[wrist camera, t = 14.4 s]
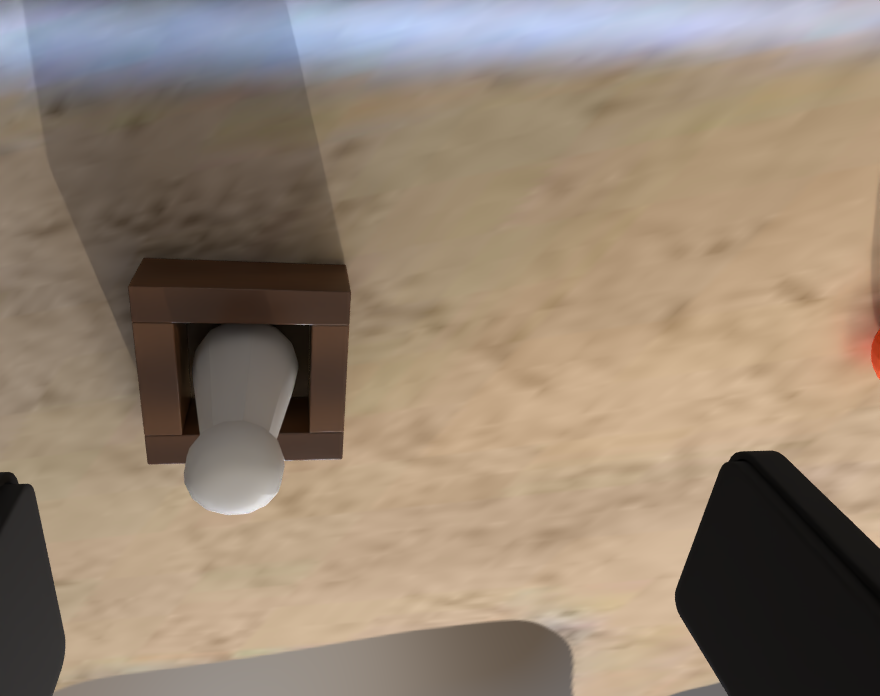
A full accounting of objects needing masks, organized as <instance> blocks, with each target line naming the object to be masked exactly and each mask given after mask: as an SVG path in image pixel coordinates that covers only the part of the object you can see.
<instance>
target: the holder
mask: <svg viewBox="0 0 880 696" xmlns="http://www.w3.org/2000/svg"><path fill="white" fill-rule="evenodd" d="M128 291H129V300H130V309H131V318H132V327H133V336H134V345H135V354H136V363H137V372H138V381H139V390H140V399H141V408H142V417H143V426H144V434H145V444H146V453H147V462H148V464H183V463H186V458H187V454H188V451H189V448H190V447H191V445H192V444H193V443H194V442H195V441H196V439H197V438H198V437H199V436H200V431H199V423H198V415H197V407H196V399H195V398H191V384H190V370H189V355H188V341H187V327H186V323H226V324H292V325H310V332H309V377H308V397H291V398H290V401H289V404H288V407H287V410H286V413H285V416H284V419H283V422H282V425H281V428H280V431H279V434H278V437H277V440H278V442H279V445H280V448H281V451H282V454H283V457H284V461H294V460H331V459H342V454H343V434H344V432H343V431H344V415H345V396H346V377H347V358H348V338H349V319H350V300H351V291H350V285H349V280H348V274H347V269H346V265H329V264H300V263H271V262H242V261H213V260H183V259H154V258H143V260H142V262H141V264H140V266H139V267H138V269H137V271H136V273H135V275H134V277H133V278H132V280H131V282H130V284H129V286H128Z"/></svg>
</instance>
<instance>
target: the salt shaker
mask: <svg viewBox="0 0 880 696" xmlns="http://www.w3.org/2000/svg"><path fill="white" fill-rule="evenodd" d="M298 368H299V364H298V361H297V358H296V354H295V351H294V348H293V345H292V342H291V341H290V340H289V339H288V338H287V337H286V336H284V335H283V334H282V333H281V332H280V331H279V330H278V329H277V328H276V327H273V326H271V325H268V324H226V323H225V324H222V325H220V326H218V327H216V328H214V329H211V330H210V331H209V333H208V334H207V335H206V337H205V338H204V339H203V341H202V342H201V343H200V344H199V346H198V347H197V349H196V350H195V356H194V361H193V367H192V375H193V383H194V391H195V399H196V407H197V415H198V423H199V431H200V436H199V437H198V438H197V439H196V441H195V442H194V443H193V444H192V445H191V447H190V448H189V451H188V454H187V458H186V464H185V470H184V482H185V485H186V487H187V489H188V491H189V493H190V495H191V497H192V499H193V500H195V501H196V502H197V503H199V504H200V505H201V506H203V507H204V508H205V509H206V510H209V511H213V512H217V513H221V514H225V515H235V514H248V513H250V512H253V511H255V510H257V509H259V508H261V507H263V506H265V505H267V504H268V503H269V502H270V500H271V499H272V498H273V497H274V496H275V495H276V494H277V493H278V492H279V488H280V485H281V481H282V476H283V471H284V457H283V454H282V451H281V448H280V445H279V442H278V440H277V437H278V434H279V431H280V428H281V425H282V422H283V419H284V416H285V413H286V410H287V407H288V404H289V401H290V398H291V395H292V392H293V389H294V386H295V382H296V377H297V373H298Z"/></svg>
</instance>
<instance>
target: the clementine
mask: <svg viewBox="0 0 880 696" xmlns="http://www.w3.org/2000/svg"><path fill="white" fill-rule="evenodd" d="M871 359H872V364H873V368H874V370H875V372H876V374H877V376H878V378H879V379H880V329H879V331H878V332H877V334H876V336H875V338H874V341H873V343H872V350H871Z"/></svg>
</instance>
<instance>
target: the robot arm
mask: <svg viewBox="0 0 880 696" xmlns="http://www.w3.org/2000/svg"><path fill="white" fill-rule="evenodd" d="M675 602H676V607H677V610H678V613H679V615H680V617H681V618H682V620H683V622H684V623H685V625H686V627H687V628H688V630H689V632H690V633H691V635H692V636H693V638H694V640H695V641H696V643H697V645H698V646H699V648H700V650H701V651H702V653H703V655H704V656H705V658H706V659H707V661H708V663H709V664H710V666H711V668H712V669H713V671H714V673H715V674H716V676H717V678H718V679H719V681H720V682H721V684H722V686H723V687H724V689H725V691H726V692H727V694H728V696H880V548H878V547H877V546H876V545H875V544H874V543H873V542H872V541H871V540H870V539H869V538H868V537H867V536H866V535H865V534H864V533H863V532H862V531H861V530H860V529H859V528H858V527H857V526H856V525H855V524H854V523H853V522H852V521H851V520H850V519H849V518H848V517H846V516H845V515H844V514H843V513H842V512H841V511H840V510H839V509H838V508H837V507H836V506H835V505H834V504H833V503H832V502H831V501H830V500H829V499H828V498H827V497H826V496H825V495H824V494H823V493H822V492H821V491H820V490H819V489H818V488H817V487H815V486H814V485H813V484H812V483H811V482H810V481H809V480H808V479H807V478H806V477H805V476H804V475H803V474H802V473H801V472H800V471H799V470H798V469H797V468H796V467H795V466H794V465H793V464H792V463H791V462H790V461H789V460H788V459H787V458H786V457H785V456H783V455H782V454H780V453H779V452H776V451H743V452H737V453H735V454H734V455H733V456H732V457H731V458H730V460H729V462H726V463H725V464H724V465H722V467H721V469H720V471H719V474H718V477H717V479H716V482H715V485H714V487H713V490H712V493H711V496H710V498H709V501H708V504H707V506H706V509H705V512H704V515H703V517H702V520H701V523H700V525H699V528H698V531H697V534H696V536H695V539H694V542H693V544H692V547H691V550H690V552H689V555H688V558H687V561H686V563H685V566H684V569H683V571H682V574H681V577H680V580H679V582H678V585H677V588H676V592H675ZM64 655H65V634H64V629H63V625H62V620H61V615H60V610H59V605H58V601H57V596H56V591H55V586H54V582H53V577H52V572H51V567H50V563H49V558H48V553H47V548H46V544H45V539H44V534H43V529H42V524H41V520H40V515H39V510H38V505H37V501H36V496H35V492H34V489H33V487H32V486H31V485H30V484H18V481H17V478H16V477H15V475H14V474H13V473H10V472H0V696H52V695H53V693H54V690H55V687H56V684H57V681H58V678H59V675H60V672H61V669H62V665H63V661H64Z"/></svg>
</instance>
